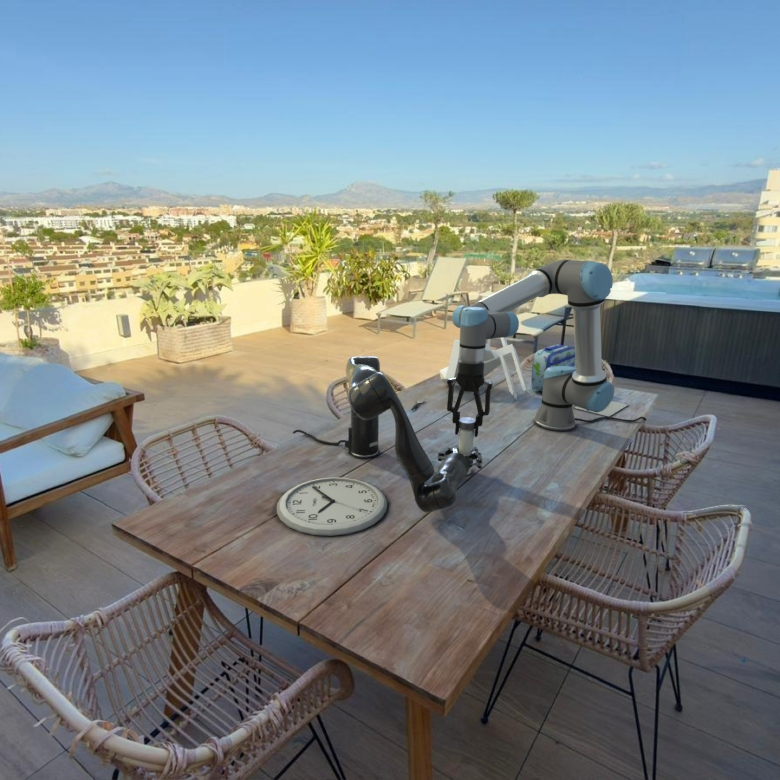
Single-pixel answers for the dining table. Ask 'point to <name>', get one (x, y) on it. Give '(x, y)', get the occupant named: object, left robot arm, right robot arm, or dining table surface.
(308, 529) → the wall clock
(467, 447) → the off-white long cylinder
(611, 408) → the invitation card
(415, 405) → the fork
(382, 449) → the dining table surface
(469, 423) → the lid
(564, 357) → the lunch box
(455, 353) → the white plastic object
